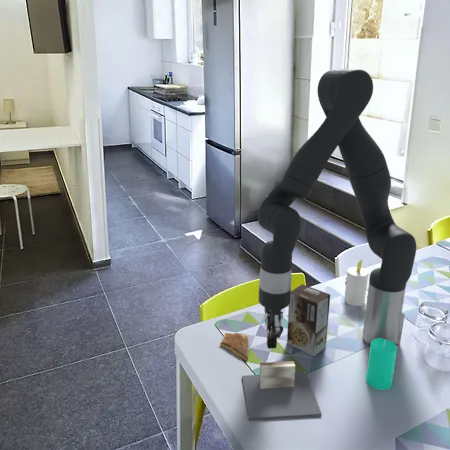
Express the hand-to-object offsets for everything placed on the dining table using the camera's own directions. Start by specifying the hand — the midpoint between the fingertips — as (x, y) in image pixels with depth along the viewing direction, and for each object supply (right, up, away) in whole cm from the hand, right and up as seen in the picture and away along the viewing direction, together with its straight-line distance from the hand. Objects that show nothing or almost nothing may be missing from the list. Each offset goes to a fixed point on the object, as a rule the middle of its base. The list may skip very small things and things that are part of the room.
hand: (271, 346), depth 115 cm
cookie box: (+11, -3, +12) cm, 16 cm away
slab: (+1, -8, -5) cm, 9 cm away
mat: (+1, -10, -7) cm, 12 cm away
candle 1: (+30, +6, +34) cm, 45 cm away
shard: (-7, -3, +11) cm, 14 cm away
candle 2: (+26, -8, -2) cm, 27 cm away
